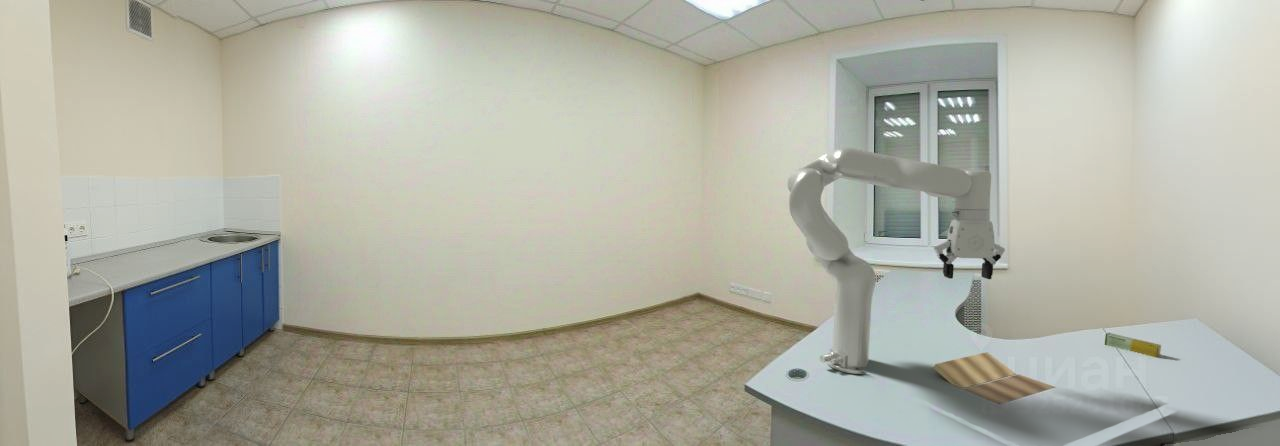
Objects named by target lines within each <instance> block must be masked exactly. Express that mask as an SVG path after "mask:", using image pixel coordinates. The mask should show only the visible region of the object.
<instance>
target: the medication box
mask: <svg viewBox="0 0 1280 446" xmlns="http://www.w3.org/2000/svg"><path fill="white" fill-rule="evenodd" d="M1104 338H1105V339H1104V345H1105V346H1108V347H1112V348H1116V349H1120V350H1124V349H1125V351H1128V350H1129V351H1128V352H1132V351H1133V352H1132V353H1136V352H1137V353H1136V354H1140V353H1141V355H1144V354H1145V356H1149V357H1152V358H1160V357H1161V350H1162V344H1159V343H1155V342H1150V341H1147V340H1143V339H1142V340H1141V339H1137V338H1133V337H1128V336H1124V335H1120V334H1116V333H1113V332H1107V333H1106V334H1105V337H1104Z"/></svg>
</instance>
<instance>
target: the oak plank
mask: <svg viewBox="0 0 1280 446" xmlns="http://www.w3.org/2000/svg"><path fill="white" fill-rule="evenodd" d="M932 368H933V369H934V370H935V371H936V372H937V373H938V374H939V375H941V377H942V378H944V379H945V380H946V381H948V383H950V384H952V385H954V386H956V387H959V388H962V389H966V388H970V387H973V386H977V385H981V384H984V383H988V382H992V381H996V380H999V379H1003V378H1007V377H1010V376H1014V375H1016V372H1015V371H1013V370H1012V369H1010V368H1009V367H1008V366H1007V365H1005V364H1004V363H1002V362H1001V361H1000V360H998V358H996V357H995V356H993V355H992V354H991V353H989V352H986V351H985V352H981V353H978V354H973V355H969V356H965V357H960V358H955V359H952V360H948V361H942V362H937V363H935V364H934V365H933V367H932Z"/></svg>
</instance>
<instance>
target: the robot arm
mask: <svg viewBox="0 0 1280 446" xmlns="http://www.w3.org/2000/svg"><path fill="white" fill-rule="evenodd" d="M840 178H841V179H846V180H850V181H854V182H859V183H864V184H869V185H874V186H878V187H883V188H888V189H895V190H896V189H898V190H900V189H901V190H911V191H916V192H917V191H918V192H924V193H925V194H926V195H928V196H930V197H934V198H948V199H955V200H954V209H953V211H950V212H949V217H952V218H953V220H950V221H951V222H950V225H949V228H948V231H947V237H946V241H944V242H943V243H941V244H938V245H936V246H934V248H933V250H934V252H935V253H936V256H937V257H938V259H939V260H940V261H941V263H943V265H942V266H943V268H942V270H943V271H942V274H943V277H945V278H947V279H949V280H950V279H953V278H954V269H955V268H954V263H953V262H955V260H956V259H957V258H959V259H982V261H984V262H982V264H981V276H980V277H982V278H983V279H987V280H992V277H993V274H994V272H993V271H994V266H995V265H996V264H997V262H998V261H999V260H1000V259H1002V256H1003V254H1005V253H1004V252H1005V251H1006V249H1005V248H1004V247H1003V246H1000V245H999V244H996V243H995V232H994V225H993V221H991V220H989V218H990V217H989V215H990V203H991V202H990V201H991V189H992V188H991V186H992V174H991V172H990V171H988V170H984V169H968V170H966V169H965V170H963V169H960V168H956V167H951V166H947V165H942V164H936V163H932V162H931V163H930V162H925V161H919V160H913V159H909V158H903V157H897V156H891V155H887V154H883V153H882V154H881V153H878V152H877V153H875V152H872V151H868V150H862V149H857V148H853V147H841V148H837V149H833V150H830V151H829V152H827V153H825V154H823V155H821V156H820V157H818V158H816V159H815V160H812V161H810V162H809V163H807V164H806V165H803V166H802V167H800V168H798V169H796V170H794V171H793V172H791V174H790V175H789V177H788V178H787V189H788V191H789V192H790V193H789V199H788V207H789V212H790V213H789V214H790V216H791V218H792V219H793V222H794V223H795V225H796V226H797V227H798V229H799V230H800V231H801V233H802V234H803V235H804V237H805V240H806V246H807V248H808V250H809V251H810V253H811V254H812V255H813V256H814V258H815V260H817V262H818V263H819V264H820V266H821V267H822V268H823V269H824V270H825V272H826V273H827V274H828V275H829V276H830V278H832V280H833V281H835V283H837V287H836V292H835V296H834V305H833V328H832V329H833V330H832V331H833V332H832V348H831V349H829V352H828V353H827V354H822V355H821V354H820V355H819V360H820V362H821V363H826V364H827V365H828V366H829V367H831V368H832V369H835V370H837V371H840V372H843V373H846V374H847V373H848V374H854V375H866V374H868V373H867V372H865V371H864V370H862V369H859V368H865V367H867V366H868V365H869V357H870V356H869V353H870V336H871V321H872V319H871V317H872V304H873V303H872V302H873V295H874V291H875V287H876V278H877V277H876V272H875V269H874V268H873V266H872V265H871V264H870V263H869V262H868V261H866V260H865V259H863V258H861V257H859V256H857V255H856V254H854V253H853V251H852V250H851V249H850V248H849V247H850V246H849V241H848V239H847V237H846V235H845V234H844V232H842V231H841V229H840V228H839V227H838V225H836V223H835V222H834V221H833V219H832V218H831V217H830V216H829V215H828V213H827V211H826V210H825V209H824V207H823V204H822V194H823V192H824V189H825V187H826V186H828V185H830V184H832V183H833V182H836V181H837V180H838V179H840ZM944 250H945V251H946V254H944V252H943V251H944Z"/></svg>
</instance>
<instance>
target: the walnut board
mask: <svg viewBox="0 0 1280 446" xmlns="http://www.w3.org/2000/svg"><path fill="white" fill-rule="evenodd" d="M1051 389H1055V386H1053V385H1051V384H1048V383H1045V382H1041V381H1040V380H1036V379H1034V378H1031V377H1028V376H1025V375H1022V374H1019V373H1018V374H1014V375H1010V376H1007V377H1003V378H999V379H995V380H992V381H988V382H984V383H981V384H977V385H973V386H969V387H966V388H963V390H965V391H966V392H969V393H972V394H974V395H976V396H979V397H981V398H983V399H985V400H988V401H990V402H991V401H992V402H993V403H996V404H998V405H1002V404H1004V403H1007V402H1011V401H1015V400H1017V399H1021V398H1023V397H1028V396H1032V395H1034V394H1037V393H1040V392H1044V391H1047V390H1051Z"/></svg>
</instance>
